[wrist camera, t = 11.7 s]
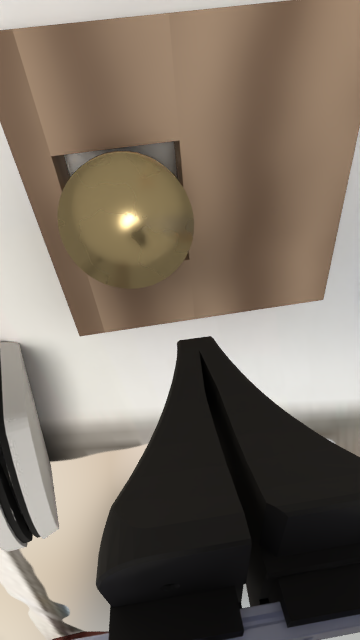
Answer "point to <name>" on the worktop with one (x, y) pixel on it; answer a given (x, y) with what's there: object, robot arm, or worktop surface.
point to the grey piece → (22, 459)
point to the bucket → (80, 635)
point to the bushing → (125, 220)
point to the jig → (198, 144)
